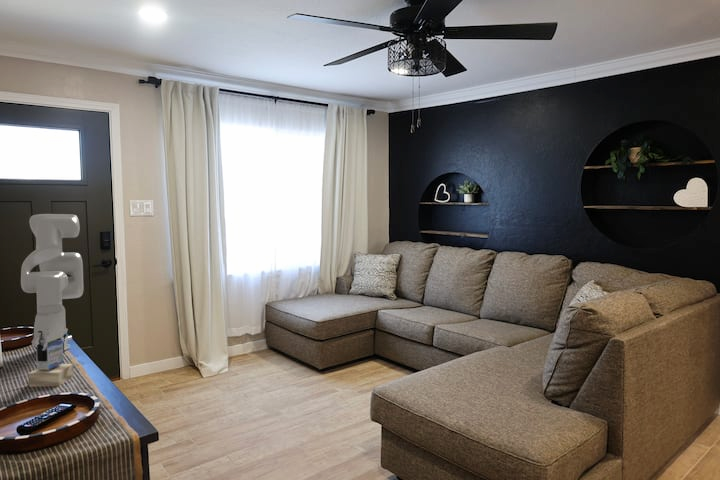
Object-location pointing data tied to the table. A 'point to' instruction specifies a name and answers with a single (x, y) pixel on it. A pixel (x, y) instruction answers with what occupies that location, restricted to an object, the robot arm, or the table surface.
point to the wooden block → (51, 376)
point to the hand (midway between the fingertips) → (51, 356)
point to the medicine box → (52, 355)
